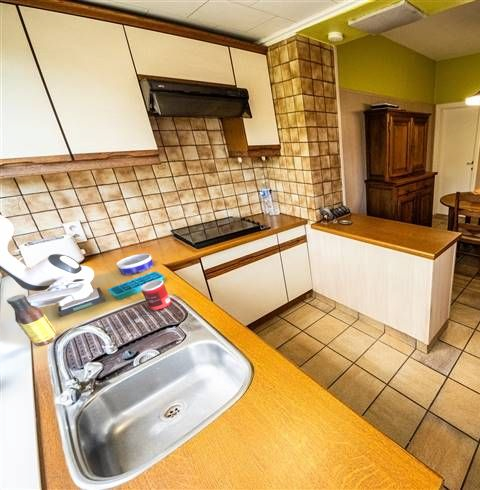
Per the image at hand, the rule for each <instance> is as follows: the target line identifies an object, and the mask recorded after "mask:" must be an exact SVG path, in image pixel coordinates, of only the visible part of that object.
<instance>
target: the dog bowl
mask: <svg viewBox="0 0 480 490" xmlns="http://www.w3.org/2000/svg"><path fill="white" fill-rule="evenodd" d="M154 265H155V263H154V261H153V258H152V256H151V254H150V253H139V254H134V255H130V256H128V257H124V258H122V259H120V260H118V261H117V262H116V263H115V266H116V268H117V269H118V272H119V273H120V275H122V276H134V275H137V274H141V273H144V272H146V271H148V270H150V269H152V268H153V267H154Z"/></svg>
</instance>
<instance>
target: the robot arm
mask: <svg viewBox="0 0 480 490" xmlns="http://www.w3.org/2000/svg"><path fill="white" fill-rule="evenodd" d="M14 233H15V226H14V224H13V223H12V222H11V221H10V220H9V219H8V218H7V217H5V216H4V215H3V214H1V213H0V270H1V271H2V272H4V273H5V274H6V275H8V276H9V277H11V278H12V279H13V280H14V281H15V282H16V283H17V284H18V286H20V287H21V288H23V289H24V290H27V291H31V292H35V293H32V294H29V295H26V298H27V300H28V302H29V303H30V304H31V305H32V306H36V307H38V308H39V309H40V308H43V307H49V306H53V305H56V307H57V308H58V307H59V306H63V305H64V304H66V303H68V302H70V301H74V300H79V299H84V298H86V297H87V296H89V295H90V294H91V293H92V292H93V288H94V287H93V286H92V284H91V283H92V282H93V280H94V278H95V271H94V269H93V268H92V267H90V266H87V265H81V264H80V263H79V262H78V261H77V260H76V259H74V258H73V257H71V256H69V255H66V254H62V253H61V254H59V253H53V254H50V255H48V256H46V257H45V258H44V259H42V260H40V261H39V262H37V263H36V264H34V265H33V266H31V267H28V266H27V265H25V264H24V263H23V262H21V261H20V260H19V259H17V258H16V257H15V256H13V255H12V254H11V253H10V252H9V250H8V246H9V243H10V241H11V240H12V238H13V236H14Z"/></svg>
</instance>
